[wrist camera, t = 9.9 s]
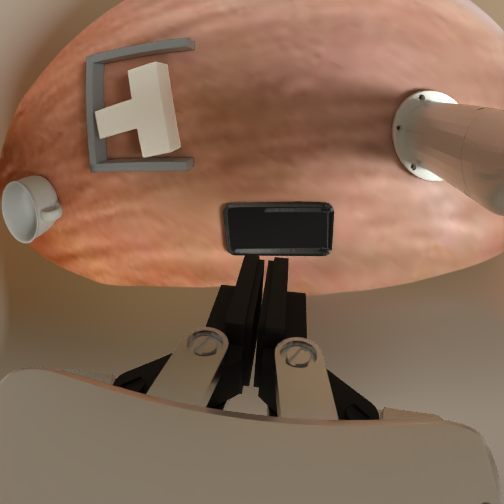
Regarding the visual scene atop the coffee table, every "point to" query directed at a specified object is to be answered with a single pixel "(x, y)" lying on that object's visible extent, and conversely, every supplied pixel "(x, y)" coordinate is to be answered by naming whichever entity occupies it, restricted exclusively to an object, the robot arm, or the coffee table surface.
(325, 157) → the coffee table surface
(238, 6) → the coffee table surface
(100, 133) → the t block
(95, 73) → the bay
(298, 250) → the phone
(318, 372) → the robot arm
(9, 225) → the teacup
